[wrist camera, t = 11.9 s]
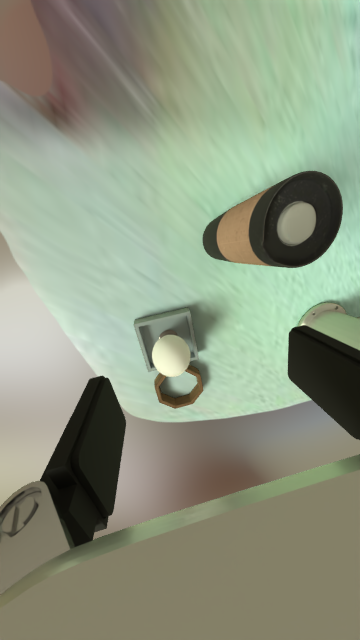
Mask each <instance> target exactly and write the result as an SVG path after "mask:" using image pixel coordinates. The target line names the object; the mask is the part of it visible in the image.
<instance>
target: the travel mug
mask: <svg viewBox="0 0 360 640" xmlns="http://www.w3.org/2000/svg"><path fill="white" fill-rule="evenodd" d="M342 214H343V204H342V197H341V194H340V191H339V189H338V187H337V185H336V183H335V182H334V181H333V180H332V179H331V178H330V177H329V176H327V175H326V174H323V173H321V172H317V171H306V172H301V173H298V174H295V175H293V176H291V177H289V178H287V179H285V180H283V181H282V182H280V183H278V184H276V185H274V186H272V187H270V188H268V189H266V190H265V191H263V192H261V193H259V194H257V195H255V196H253V197H251V198H249V199H248V200H246V201H244V202H242V203H240V204H238V205H236V206H234V207H233V208H231V209H229V210H228V211H226V212H225V213H223V214H222V215H220V216H219V217H217V218H216V219H214V220H213V221H212V222H210V223H209V224H208V226H207V227H206V229H205V231H204V234H203V245H204V249H205V251H206V252H207V253H208V254H209V255H210V256H211V257H213V258H215V259H219V260H224V261H229V262H234V263H243V264H254V265H265V266H276V267H287V268H296V267H302V266H305V265H308V264H310V263H312V262H313V261H315V260H317V259H318V258H319V257H320V256H322V255H323V254H324V253H325V252H326V250H327V249H328V248H329V247H330V245H331V244H332V243H333V241H334V239H335V237H336V235H337V233H338V230H339V228H340V224H341V220H342Z"/></svg>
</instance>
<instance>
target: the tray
mask: <svg viewBox="0 0 360 640" xmlns="http://www.w3.org/2000/svg"><path fill="white" fill-rule="evenodd" d="M134 327H135V331H136V334H137V337H138V340H139V343H140V347H141V350H142V353H143V356H144V359H145V363H146V366H147V369H148V372H150V371H154V370H157V369H156V367H155V365H154V363H153V360H152V351H153V347H154V345H155V343H156V342H157V341H158V340H159V336H160V334H161V333H162V332H164V331H166V330H173V331H175V332H176V333H177V335H178V336H179V337H180V338H182V339H183V340H184V341H185V342H186V344H187V345H188V347H189V350H190V361H193V360H197V359H199V357H198V351H197V346H196V340H195V335H194V329H193V324H192V319H191V313H190V310H189V309H188V308H183V309H179V310H175V311H171V312H166V313H162V314H158V315H153V316H149V317H145V318H141V319H136V320H135V321H134Z"/></svg>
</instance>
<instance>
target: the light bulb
mask: <svg viewBox="0 0 360 640" xmlns="http://www.w3.org/2000/svg"><path fill="white" fill-rule="evenodd" d="M152 360H153V363H154V365H155V367H156V369H157V370H158V371H159V372H160V373H161V374H163V375H165V376H168V377H175V376H178V375H180V374H182V373H183V372H184V371H185V370H186V369H187V367H188V365H189V363H190V350H189V347H188V345H187V344H186V342H185V341H184V340H183V339H182V338H180V337H179V336H178V335H177V333H176V332H175V331H173V330H166V331H164V332H162V333H161V334H160V336H159V340H158V341H157V342H156V343H155V345H154V347H153V351H152Z"/></svg>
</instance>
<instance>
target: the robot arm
mask: <svg viewBox="0 0 360 640" xmlns="http://www.w3.org/2000/svg"><path fill="white" fill-rule="evenodd" d="M288 376H289V378H290V380H291V381H292V382H293V383H294V384H295V385H297V386H298V387H299V388H300V389H301V390H302V391H303V392H304V393H305V394H306V395H308V396H309V397H310V398H311V399H312V400H313V401H314V402H315V403H316V404H317V405H319V406H320V407H321V408H322V409H323V410H324V411H325V412H326V413H327V414H328V415H330V416H331V417H332V418H333V419H334V420H335V421H336V422H337V423H338V424H339V425H340V426H342V427H343V428H344V429H345V430H346V431H347V432H348V433H349V434H350V435H351V436H353V437H354V438H356V439H359V440H360V317H357V318H356V317H353V316H349V315H347V313H346V311H345V309H344V308H343V307H342V306H340V305H338V304H335V303H330V302H328V303H321V304H319V305H316V306H314V307H313V308H311V309H310V310H309V311H308V312H306V314H305V315H304V316H303V317H302V319H301V320H300V322H299V324H298V326H297V327H294V328H292V330H291V331H290V332H289V348H288ZM125 427H126V420H125V416H124V414H123V412H122V409H121V407H120V404H119V402H118V400H117V397H116V395H115V392H114V390H113V388H112V385H111V383H110V380H109V379H108V378H105V377H104V376H99V377H96V378H92V379H90V380H89V381H88V384H87V386H86V388H85V390H84V392H83V394H82V396H81V398H80V400H79V402H78V404H77V406H76V408H75V410H74V412H73V414H72V416H71V418H70V420H69V422H68V424H67V426H66V428H65V430H64V432H63V434H62V436H61V438H60V441H59V443H58V444H57V446H56V448H55V451H54V453H53V455H52V457H51V459H50V461H49V463H48V465H47V467H46V469H45V471H44V473H43V475H42V478H41V479H40V481H36V482H31V483H29V484H27V485H25V486H23V487H22V488H20V489H19V490H17V491H16V492H15V493H13V494H12V495H11V496H10V497H9V498H8V499H7V500H6V501H5V502H4V503H3V504H2V505H1V506H0V640H360V454H359V455H357V456H353V457H350V458H346V459H343V460H340V461H337V462H333V463H330V464H327V465H323V466H320V467H317V468H314V469H310V470H308V471H304V472H301V473H298V474H294V475H291V476H288V477H285V478H281V479H278V480H275V481H272V482H269V483H265V484H262V485H259V486H256V487H253V488H249V489H246V490H243V491H240V492H237V493H233V494H230V495H227V496H224V497H221V498H218V499H215V500H211V501H208V502H206V503H202V504H199V505H196V506H192V507H189V508H186V509H183V510H180V511H177V512H174V513H170V514H167V515H164V516H161V517H158V518H155V519H152V520H149V521H146V522H143V523H140V524H137V525H135V526H132V527H129V528H126V529H123V530H120V531H117V532H114V533H111V534H108V535H105V536H102V537H99V538H97V539H95V540H93V535H94V532H97V531H100V530H103V529H106V528H107V522H108V516H110V515H112V513H113V509H114V504H115V496H116V490H117V482H118V475H119V468H120V462H121V455H122V448H123V441H124V435H125Z"/></svg>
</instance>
